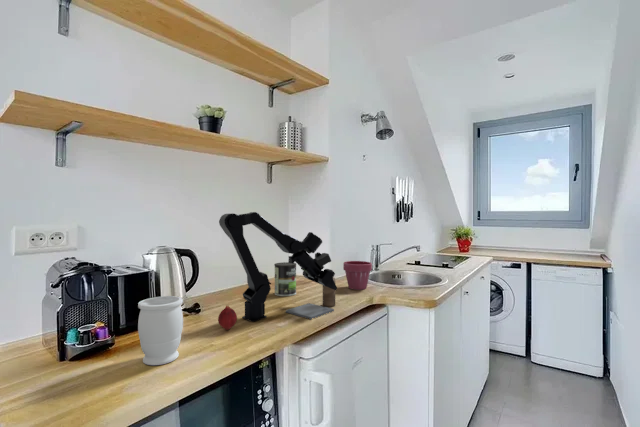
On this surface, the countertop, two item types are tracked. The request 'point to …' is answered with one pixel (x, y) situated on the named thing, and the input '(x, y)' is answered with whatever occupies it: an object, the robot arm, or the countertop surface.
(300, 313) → the slate board
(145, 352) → the jar
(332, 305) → the pepper mill
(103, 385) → the countertop surface
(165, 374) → the countertop surface
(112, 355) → the countertop surface
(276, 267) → the coffee can
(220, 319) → the onion
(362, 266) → the plant pot
